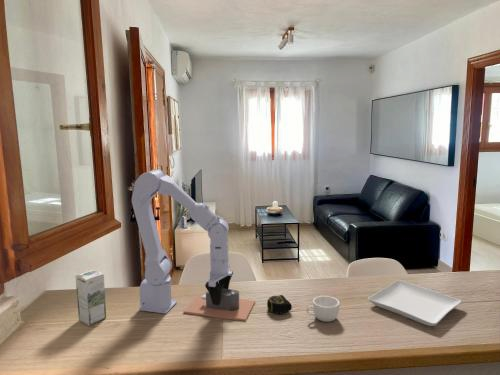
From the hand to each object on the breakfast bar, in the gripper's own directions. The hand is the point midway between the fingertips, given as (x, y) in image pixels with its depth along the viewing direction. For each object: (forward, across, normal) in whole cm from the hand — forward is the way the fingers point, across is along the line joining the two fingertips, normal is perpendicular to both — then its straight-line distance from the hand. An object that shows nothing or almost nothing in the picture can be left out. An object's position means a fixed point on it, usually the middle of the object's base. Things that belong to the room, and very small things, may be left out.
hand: (220, 298), depth 114 cm
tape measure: (+3, +4, -19) cm, 19 cm away
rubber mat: (+3, 0, 0) cm, 3 cm away
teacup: (+3, +1, -32) cm, 32 cm away
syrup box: (+3, -16, +35) cm, 39 cm away
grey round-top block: (+2, 0, 0) cm, 2 cm away
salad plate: (+4, +15, -60) cm, 62 cm away
